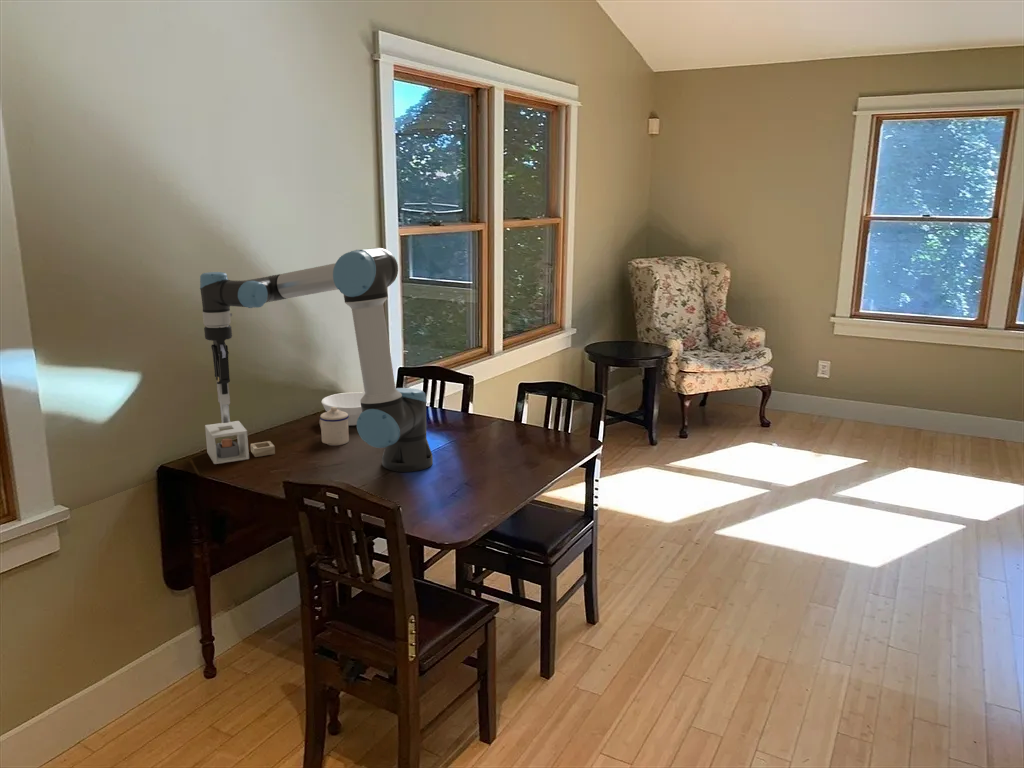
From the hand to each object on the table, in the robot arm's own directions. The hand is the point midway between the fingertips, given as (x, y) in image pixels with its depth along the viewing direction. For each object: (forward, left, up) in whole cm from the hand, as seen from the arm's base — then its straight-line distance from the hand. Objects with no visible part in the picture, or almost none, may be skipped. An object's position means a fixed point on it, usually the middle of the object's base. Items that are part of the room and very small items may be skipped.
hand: (224, 402), depth 237 cm
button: (0, 0, -16) cm, 16 cm away
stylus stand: (-2, -10, -17) cm, 20 cm away
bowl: (+19, -46, -18) cm, 53 cm away
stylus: (0, 0, -6) cm, 6 cm away
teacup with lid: (+1, -33, -18) cm, 37 cm away
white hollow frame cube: (0, 0, -17) cm, 17 cm away
